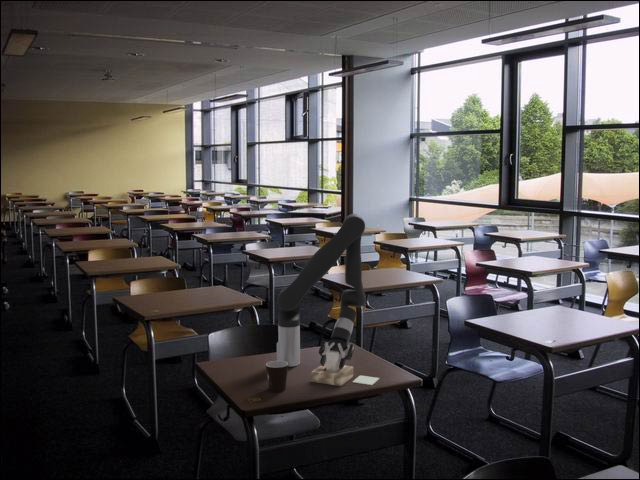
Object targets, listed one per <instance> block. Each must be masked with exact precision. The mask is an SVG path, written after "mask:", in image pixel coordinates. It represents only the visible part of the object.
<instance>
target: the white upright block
mask: <svg viewBox="0 0 640 480" xmlns="http://www.w3.org/2000/svg"><path fill="white" fill-rule="evenodd" d="M325 363H326V371H328V372H334V373H337V372H339V364H340V354H339V352H338V351H333V350H332V351H330V350H329V351H327V352H326V361H325Z"/></svg>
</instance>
